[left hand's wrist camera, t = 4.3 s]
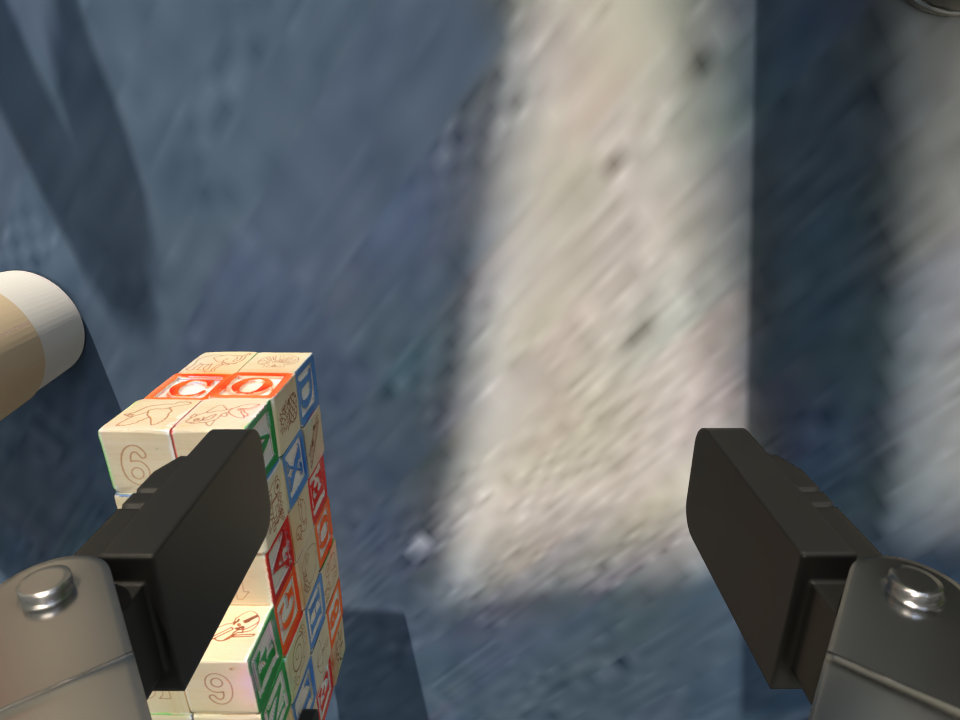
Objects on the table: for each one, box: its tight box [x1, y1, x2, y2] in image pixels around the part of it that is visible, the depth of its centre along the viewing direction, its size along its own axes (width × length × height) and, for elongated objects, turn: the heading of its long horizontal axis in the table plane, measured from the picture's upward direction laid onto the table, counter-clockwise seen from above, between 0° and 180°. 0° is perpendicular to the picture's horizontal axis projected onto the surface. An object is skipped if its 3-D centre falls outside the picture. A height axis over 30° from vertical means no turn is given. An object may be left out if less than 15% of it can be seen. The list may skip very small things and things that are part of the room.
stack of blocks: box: [98, 352, 345, 720], centre depth 31 cm, size 21×6×12 cm, turn 0°
